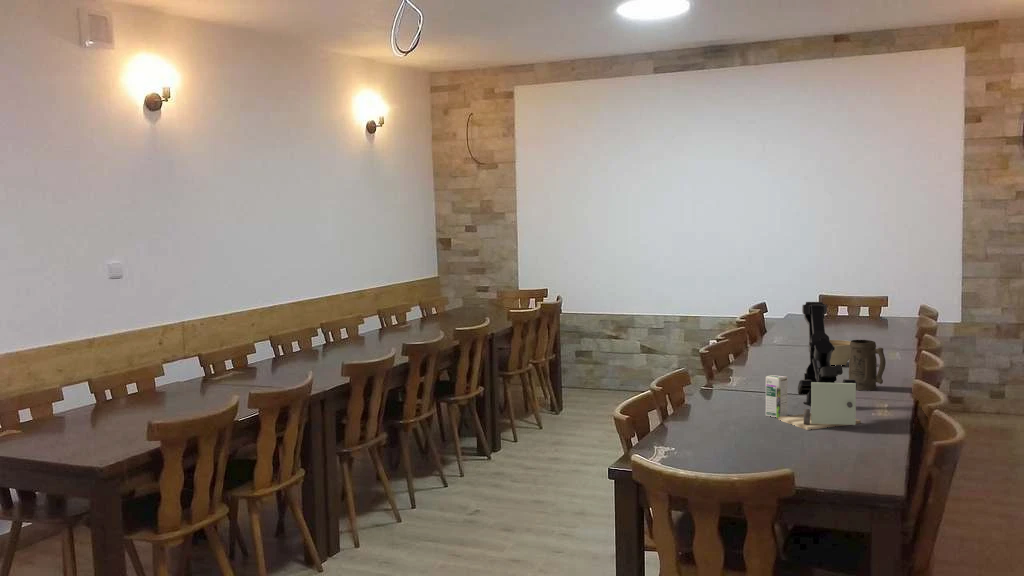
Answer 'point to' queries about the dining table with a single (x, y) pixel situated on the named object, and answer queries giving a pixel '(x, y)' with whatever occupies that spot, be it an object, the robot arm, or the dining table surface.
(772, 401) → the syrup box
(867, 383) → the beer stein
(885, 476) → the dining table surface
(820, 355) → the robot arm
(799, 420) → the door stand
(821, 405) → the door
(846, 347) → the planter bowl
